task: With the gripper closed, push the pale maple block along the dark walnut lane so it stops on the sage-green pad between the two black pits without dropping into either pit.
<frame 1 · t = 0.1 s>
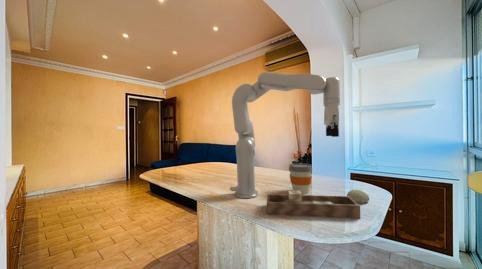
hand: (332, 136, 101), 31 cm above the table, tool pointing down, fingers open, 9 cm apart
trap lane: (309, 210, 85), on the table
reusable coffee cup: (300, 191, 112), on the table
maple block: (295, 203, 86), point 3 cm above the table, touching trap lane
sea urchin shell: (357, 201, 96), on the table
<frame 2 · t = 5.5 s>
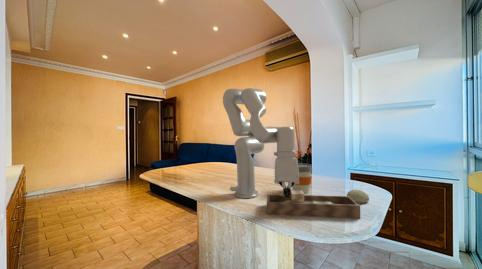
hand: (287, 196, 86), 6 cm above the table, tool pointing down, fingers closed
maple block: (297, 203, 86), point 3 cm above the table, touching gripper
everything else where it was.
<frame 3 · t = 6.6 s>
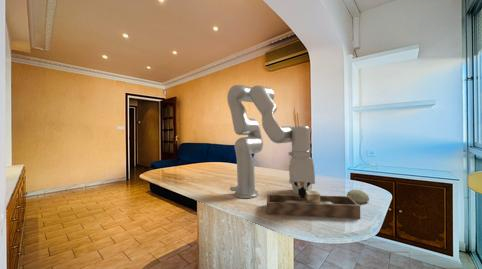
hand: (302, 197, 85), 6 cm above the table, tool pointing down, fingers closed
maple block: (312, 204, 85), point 3 cm above the table, touching gripper
everything else where it was.
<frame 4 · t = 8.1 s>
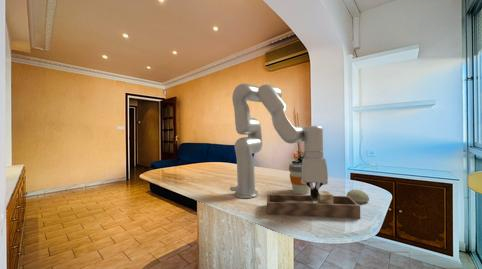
hand: (314, 197, 85), 6 cm above the table, tool pointing down, fingers closed
maple block: (325, 204, 84), point 3 cm above the table, touching gripper, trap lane
everything else where it was.
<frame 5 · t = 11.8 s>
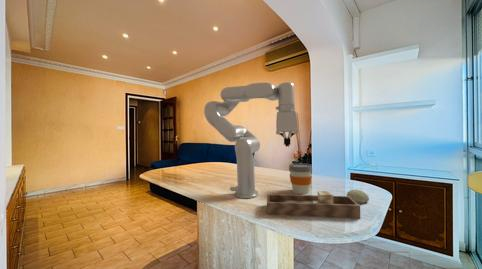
hand: (287, 146, 97), 27 cm above the table, tool pointing down, fingers closed
maple block: (325, 204, 84), point 3 cm above the table, touching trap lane
everything else where it was.
at the end: maple block inside the target area on the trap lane (0.8 cm from its centre), point 3.0 cm above the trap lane's base; maple block tilted 0° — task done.
